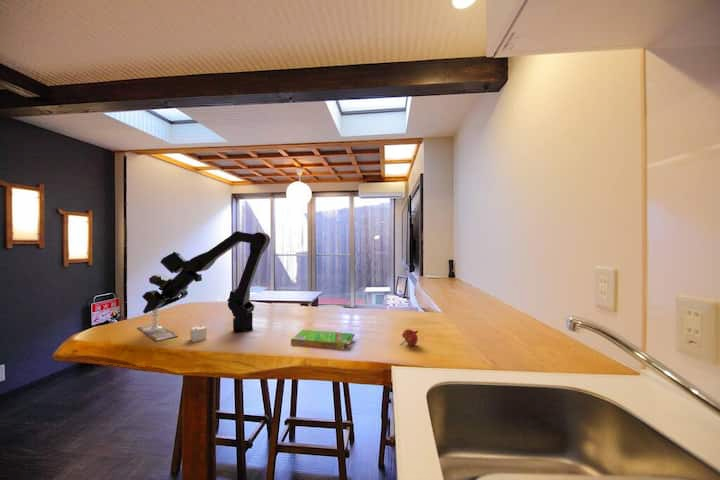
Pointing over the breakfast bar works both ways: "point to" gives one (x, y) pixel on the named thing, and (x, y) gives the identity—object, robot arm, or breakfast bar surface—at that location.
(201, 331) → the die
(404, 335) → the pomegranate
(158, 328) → the chess piece
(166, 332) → the track board
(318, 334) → the game box
